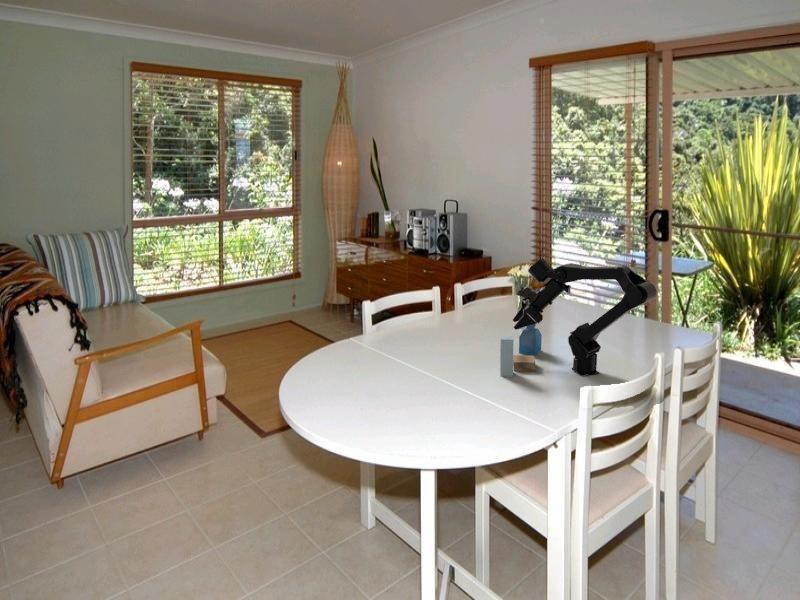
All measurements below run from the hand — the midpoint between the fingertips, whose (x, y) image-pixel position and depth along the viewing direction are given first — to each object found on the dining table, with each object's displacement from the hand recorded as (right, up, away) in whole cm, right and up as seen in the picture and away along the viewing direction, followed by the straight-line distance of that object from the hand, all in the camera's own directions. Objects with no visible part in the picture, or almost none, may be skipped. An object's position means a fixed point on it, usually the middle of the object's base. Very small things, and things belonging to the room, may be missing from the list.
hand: (514, 324), depth 192 cm
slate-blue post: (-4, -16, -7) cm, 18 cm away
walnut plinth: (+3, -14, -2) cm, 15 cm away
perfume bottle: (+9, -11, +13) cm, 19 cm away
